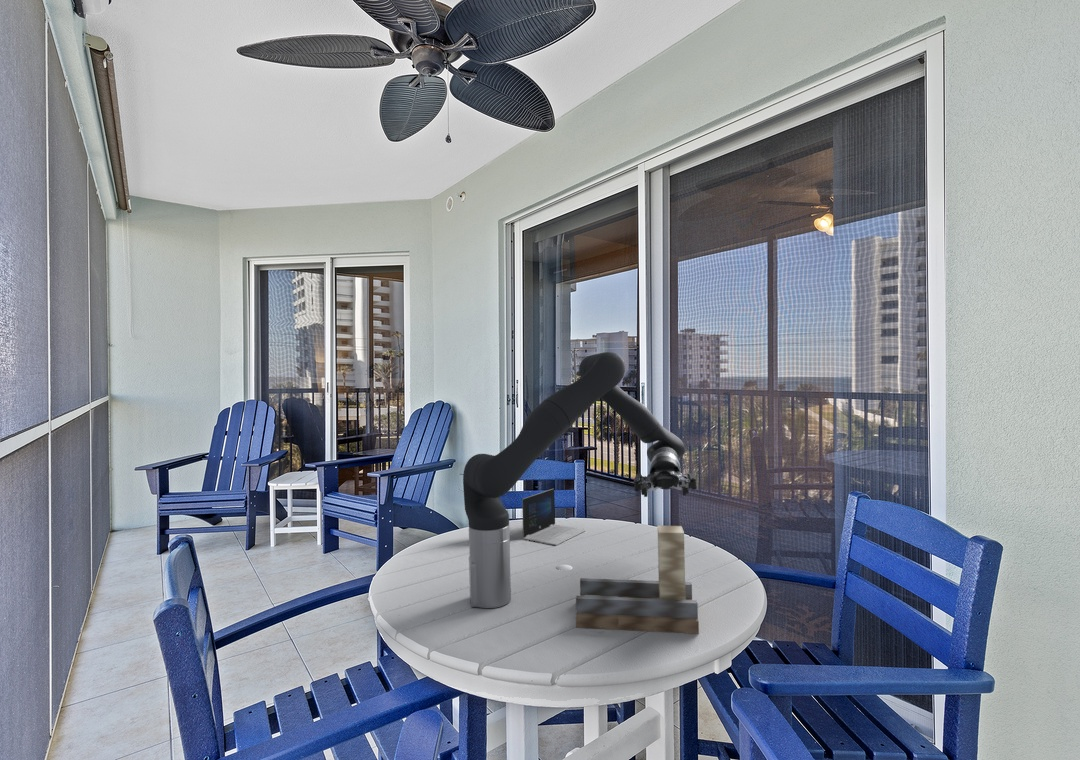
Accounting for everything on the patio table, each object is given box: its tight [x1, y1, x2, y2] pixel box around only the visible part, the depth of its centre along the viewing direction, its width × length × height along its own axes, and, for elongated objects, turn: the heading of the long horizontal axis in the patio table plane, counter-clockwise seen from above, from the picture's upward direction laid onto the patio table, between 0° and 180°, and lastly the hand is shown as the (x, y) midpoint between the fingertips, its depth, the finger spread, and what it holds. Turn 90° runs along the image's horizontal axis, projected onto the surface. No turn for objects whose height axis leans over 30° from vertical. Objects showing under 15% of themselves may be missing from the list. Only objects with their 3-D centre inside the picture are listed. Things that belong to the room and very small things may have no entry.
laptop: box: [521, 488, 587, 546], centre depth 173 cm, size 18×12×13 cm
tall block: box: [657, 525, 686, 600], centre depth 113 cm, size 5×5×16 cm
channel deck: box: [575, 577, 700, 635], centre depth 114 cm, size 24×13×6 cm, turn 81°
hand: (664, 492), depth 122 cm, fingers open, 8 cm apart
